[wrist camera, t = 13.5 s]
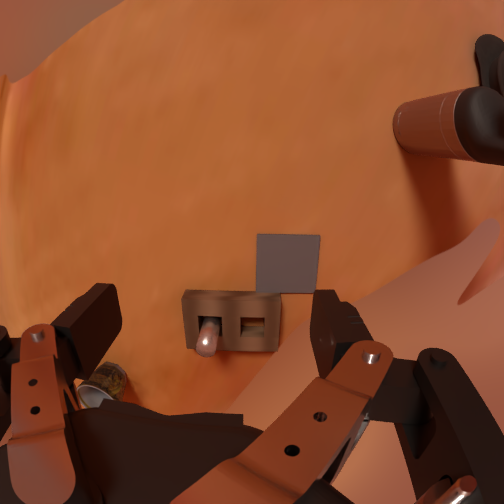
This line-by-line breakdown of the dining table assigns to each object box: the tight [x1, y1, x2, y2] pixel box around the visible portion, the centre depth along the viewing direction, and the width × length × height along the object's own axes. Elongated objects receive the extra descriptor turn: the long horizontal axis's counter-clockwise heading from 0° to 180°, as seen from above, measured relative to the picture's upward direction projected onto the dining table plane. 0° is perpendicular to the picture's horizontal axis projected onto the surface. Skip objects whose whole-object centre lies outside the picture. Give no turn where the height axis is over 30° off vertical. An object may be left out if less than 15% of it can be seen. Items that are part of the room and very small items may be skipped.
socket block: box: [181, 290, 281, 351], centre depth 51 cm, size 16×10×4 cm, turn 89°
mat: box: [256, 234, 320, 293], centre depth 49 cm, size 10×10×1 cm
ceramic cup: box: [77, 362, 126, 408], centre depth 53 cm, size 13×10×10 cm
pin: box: [196, 316, 222, 357], centre depth 48 cm, size 3×3×10 cm
